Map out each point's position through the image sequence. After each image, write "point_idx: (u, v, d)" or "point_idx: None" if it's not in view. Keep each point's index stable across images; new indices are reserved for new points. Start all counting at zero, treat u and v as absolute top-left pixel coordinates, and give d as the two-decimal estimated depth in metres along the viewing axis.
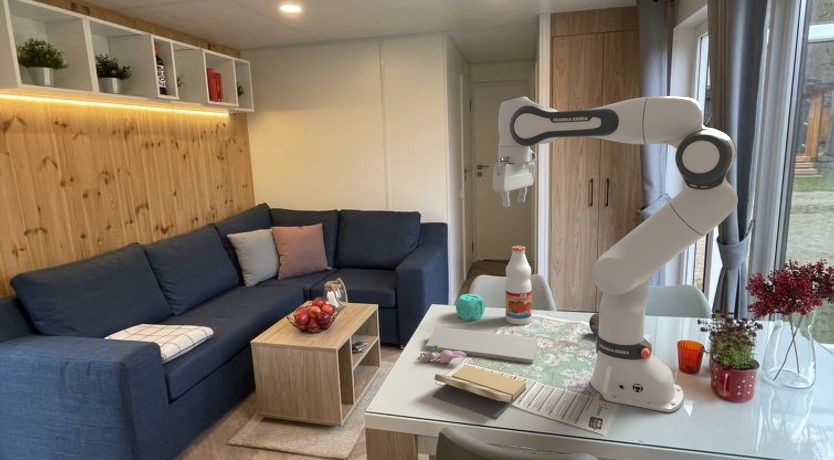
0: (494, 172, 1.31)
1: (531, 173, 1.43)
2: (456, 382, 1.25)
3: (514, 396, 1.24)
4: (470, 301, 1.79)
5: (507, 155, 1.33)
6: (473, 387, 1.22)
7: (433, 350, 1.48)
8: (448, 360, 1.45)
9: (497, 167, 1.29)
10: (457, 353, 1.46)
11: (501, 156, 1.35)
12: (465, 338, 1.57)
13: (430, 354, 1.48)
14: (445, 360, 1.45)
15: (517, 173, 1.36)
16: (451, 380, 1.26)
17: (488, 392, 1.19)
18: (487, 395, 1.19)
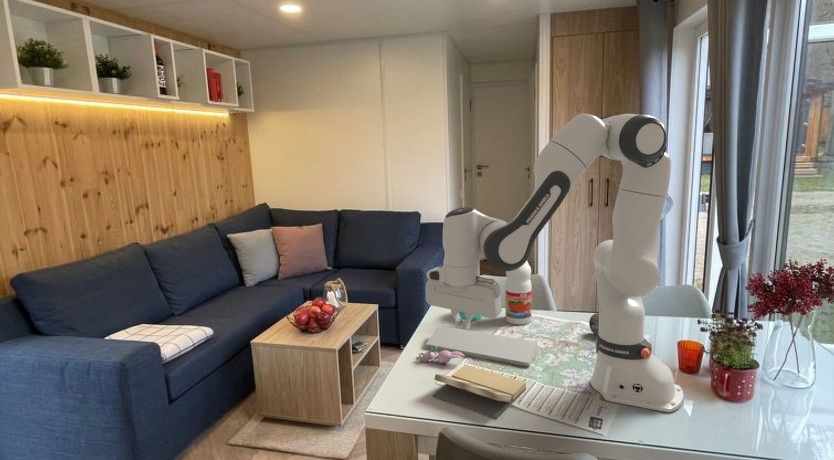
0: (494, 296, 1.12)
1: None
2: (456, 382, 1.25)
3: (514, 396, 1.24)
4: None
5: (477, 274, 1.15)
6: (473, 387, 1.22)
7: (431, 350, 1.48)
8: (446, 360, 1.45)
9: (499, 289, 1.12)
10: (455, 353, 1.46)
11: (471, 277, 1.14)
12: (465, 338, 1.57)
13: (428, 354, 1.48)
14: (443, 360, 1.45)
15: None
16: (451, 380, 1.26)
17: (488, 392, 1.19)
18: (487, 395, 1.19)
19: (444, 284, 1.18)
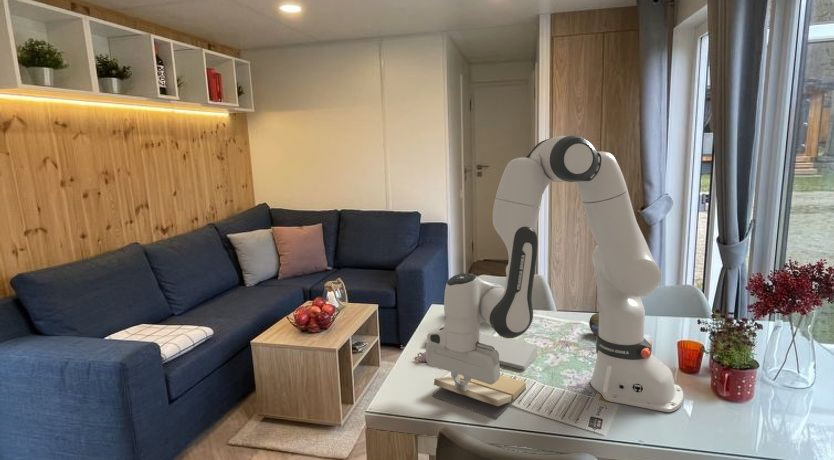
0: (493, 364, 1.15)
1: None
2: None
3: (514, 396, 1.24)
4: None
5: (477, 340, 1.18)
6: (472, 392, 1.21)
7: None
8: None
9: (498, 357, 1.15)
10: None
11: (471, 343, 1.17)
12: None
13: None
14: None
15: None
16: (450, 385, 1.25)
17: (487, 397, 1.19)
18: (486, 400, 1.19)
19: (444, 347, 1.21)
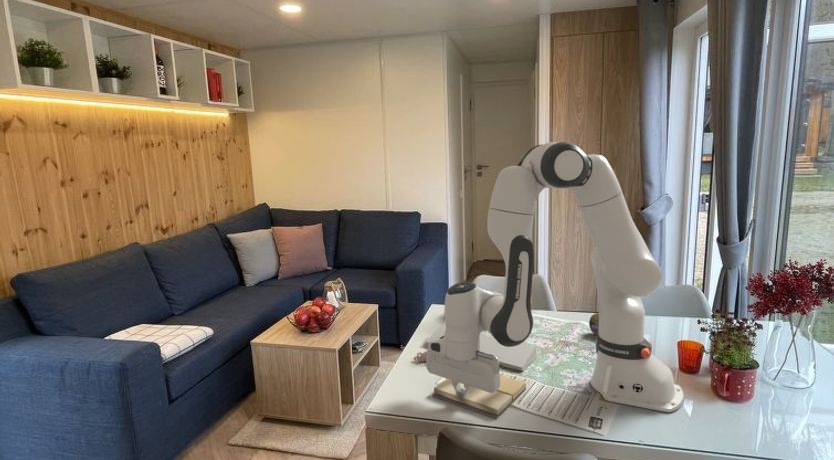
0: (493, 372, 1.15)
1: None
2: (455, 396, 1.25)
3: (514, 396, 1.24)
4: None
5: (477, 349, 1.18)
6: (472, 401, 1.22)
7: None
8: None
9: None
10: None
11: (471, 352, 1.17)
12: None
13: (426, 354, 1.48)
14: None
15: None
16: (450, 394, 1.26)
17: (487, 407, 1.19)
18: (486, 409, 1.19)
19: (445, 356, 1.22)
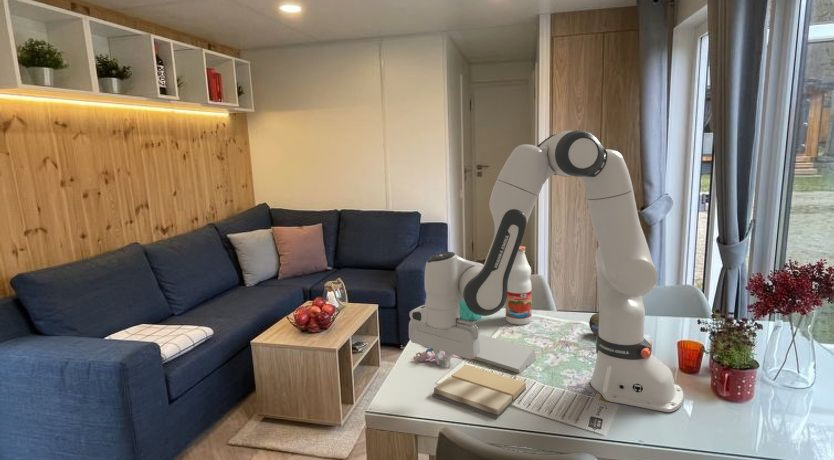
0: (472, 339, 1.17)
1: None
2: (455, 396, 1.25)
3: (514, 396, 1.24)
4: None
5: (457, 316, 1.21)
6: (472, 401, 1.22)
7: (428, 350, 1.48)
8: None
9: None
10: None
11: (451, 319, 1.19)
12: None
13: (425, 354, 1.48)
14: None
15: None
16: (450, 394, 1.26)
17: (487, 407, 1.19)
18: (486, 409, 1.19)
19: (426, 324, 1.24)
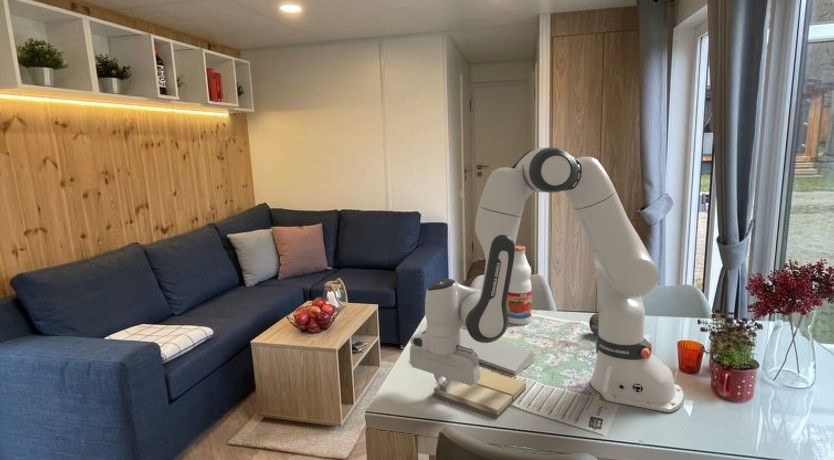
0: (472, 366, 1.19)
1: None
2: (455, 396, 1.25)
3: (514, 396, 1.24)
4: None
5: (457, 343, 1.22)
6: (472, 402, 1.22)
7: None
8: None
9: (478, 359, 1.19)
10: None
11: (451, 346, 1.21)
12: (464, 339, 1.56)
13: None
14: None
15: None
16: (450, 394, 1.26)
17: (487, 407, 1.19)
18: (486, 410, 1.19)
19: (427, 350, 1.25)
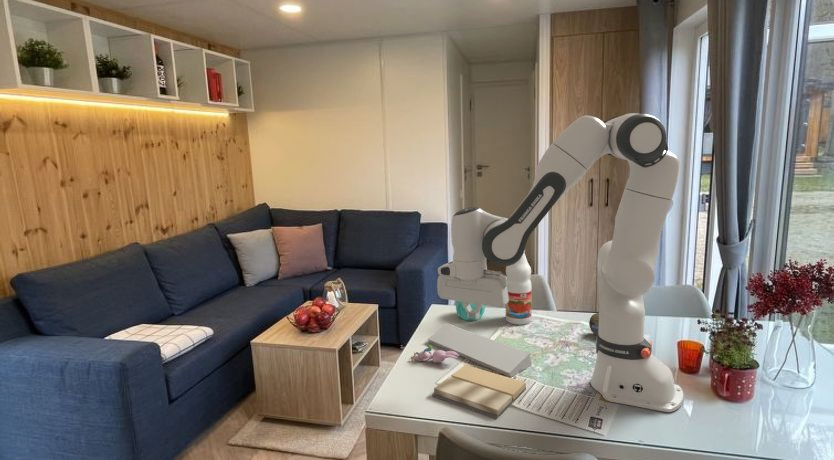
0: (501, 287, 1.22)
1: None
2: (455, 396, 1.25)
3: (514, 396, 1.24)
4: None
5: (484, 268, 1.25)
6: (472, 402, 1.22)
7: (426, 350, 1.48)
8: (440, 360, 1.46)
9: (506, 281, 1.22)
10: (450, 353, 1.46)
11: (479, 271, 1.24)
12: (464, 339, 1.56)
13: (423, 354, 1.48)
14: (437, 360, 1.45)
15: None
16: (450, 394, 1.26)
17: (487, 407, 1.19)
18: (486, 410, 1.19)
19: (454, 278, 1.29)
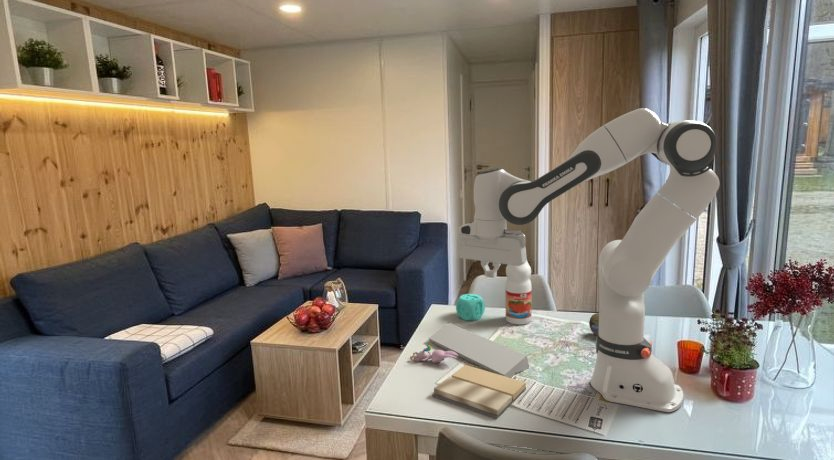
0: (520, 246, 1.26)
1: None
2: (455, 396, 1.25)
3: (514, 396, 1.24)
4: (470, 301, 1.78)
5: (505, 227, 1.29)
6: (472, 402, 1.22)
7: (425, 349, 1.48)
8: (439, 360, 1.46)
9: (525, 240, 1.26)
10: (449, 353, 1.47)
11: (499, 230, 1.28)
12: (464, 339, 1.56)
13: (422, 353, 1.49)
14: (436, 360, 1.46)
15: None
16: (450, 394, 1.26)
17: (487, 407, 1.19)
18: (486, 410, 1.19)
19: (474, 237, 1.32)
